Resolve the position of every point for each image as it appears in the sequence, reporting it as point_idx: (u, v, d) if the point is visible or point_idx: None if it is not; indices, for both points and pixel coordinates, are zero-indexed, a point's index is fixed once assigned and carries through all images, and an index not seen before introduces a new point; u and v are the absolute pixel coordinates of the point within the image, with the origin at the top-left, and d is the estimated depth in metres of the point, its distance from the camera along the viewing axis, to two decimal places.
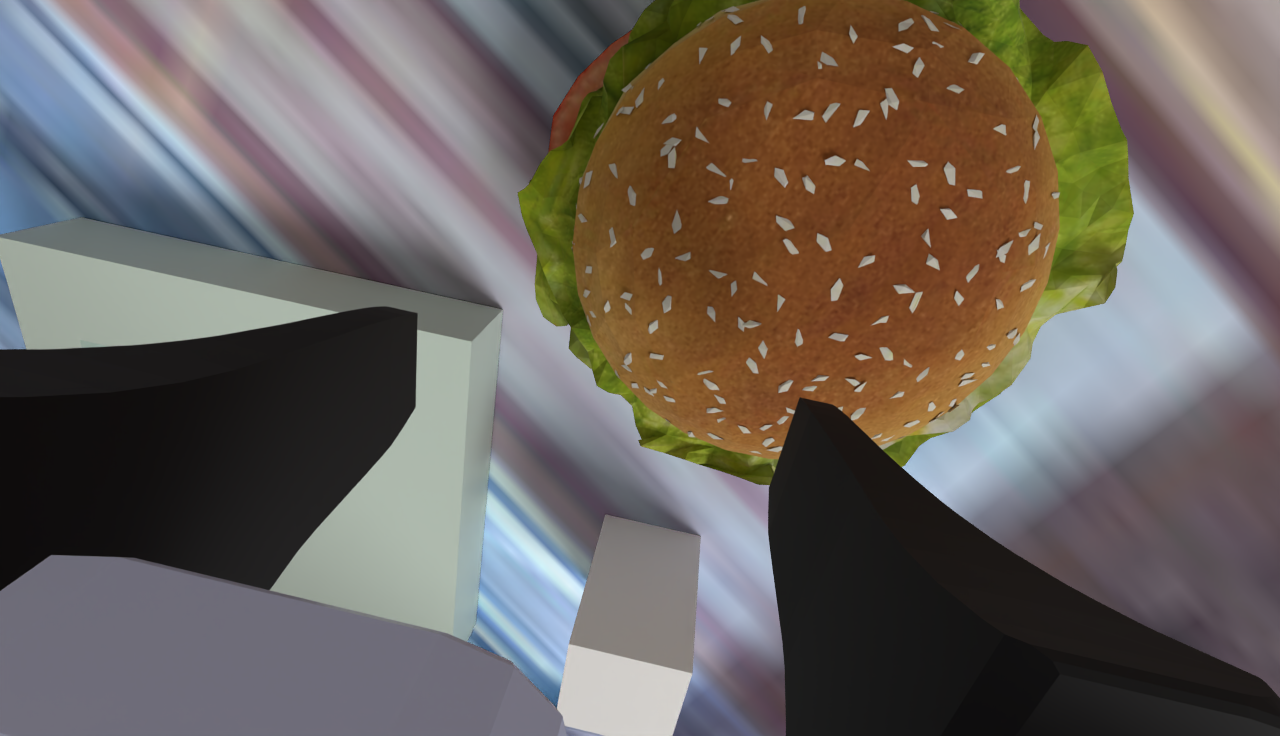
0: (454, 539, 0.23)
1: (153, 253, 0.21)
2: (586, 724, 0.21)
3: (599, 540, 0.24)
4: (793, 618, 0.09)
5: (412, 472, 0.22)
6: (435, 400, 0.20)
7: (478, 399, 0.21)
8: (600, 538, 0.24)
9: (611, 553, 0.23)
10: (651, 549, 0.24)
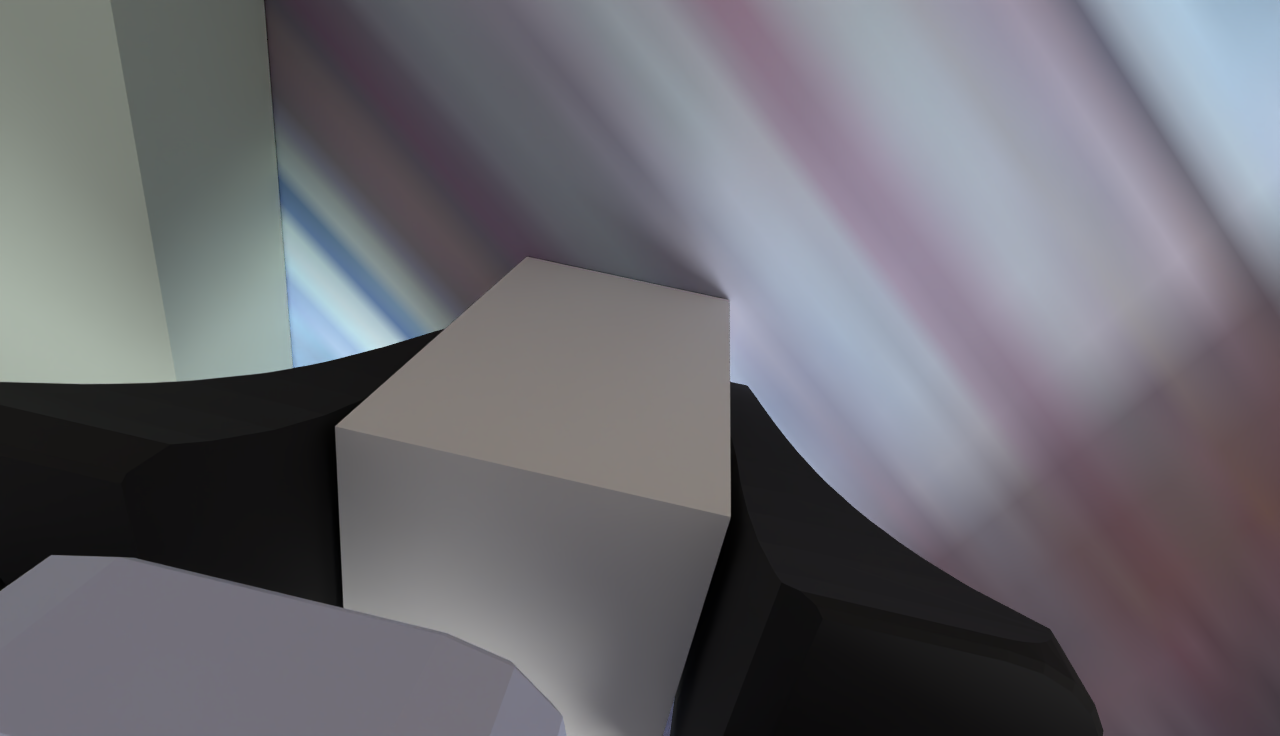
0: (144, 252, 0.10)
1: None
2: None
3: (502, 281, 0.11)
4: None
5: None
6: None
7: None
8: (505, 279, 0.11)
9: (525, 299, 0.10)
10: (621, 303, 0.11)
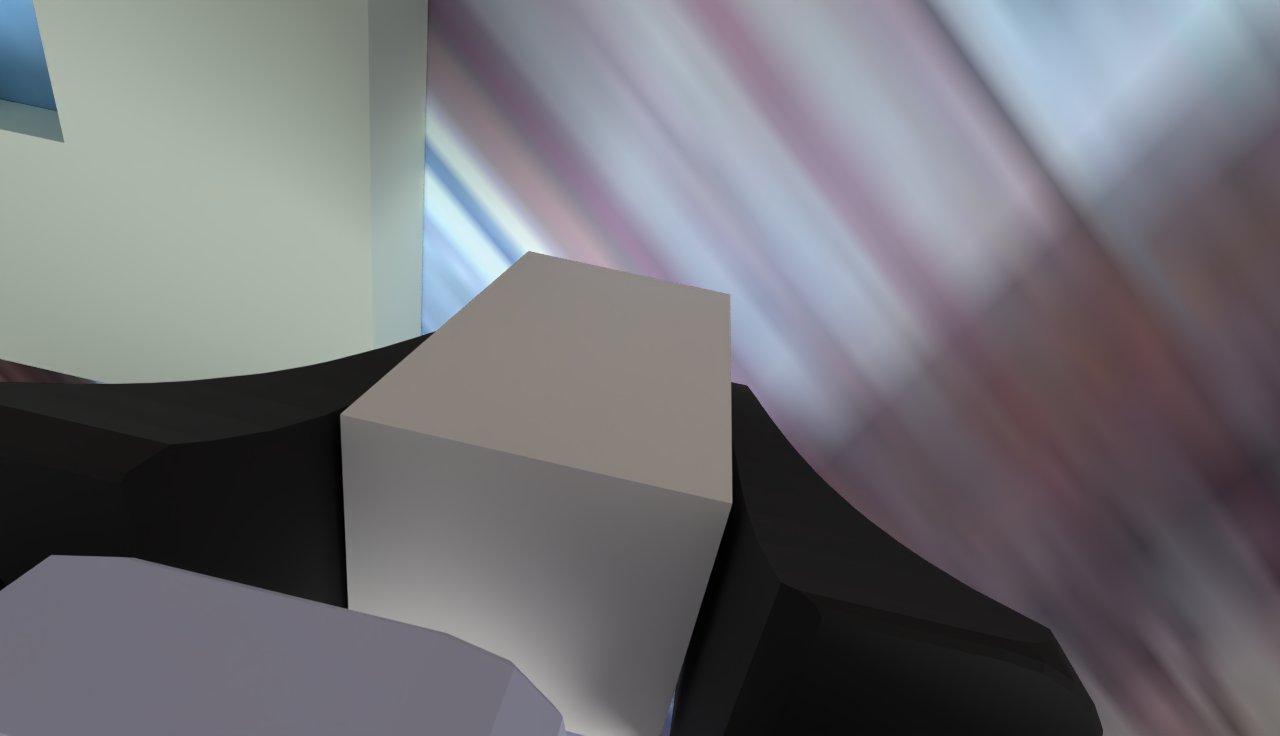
0: (364, 184, 0.15)
1: None
2: None
3: (504, 275, 0.11)
4: None
5: (292, 53, 0.14)
6: None
7: None
8: (507, 273, 0.11)
9: (527, 292, 0.10)
10: (623, 297, 0.11)
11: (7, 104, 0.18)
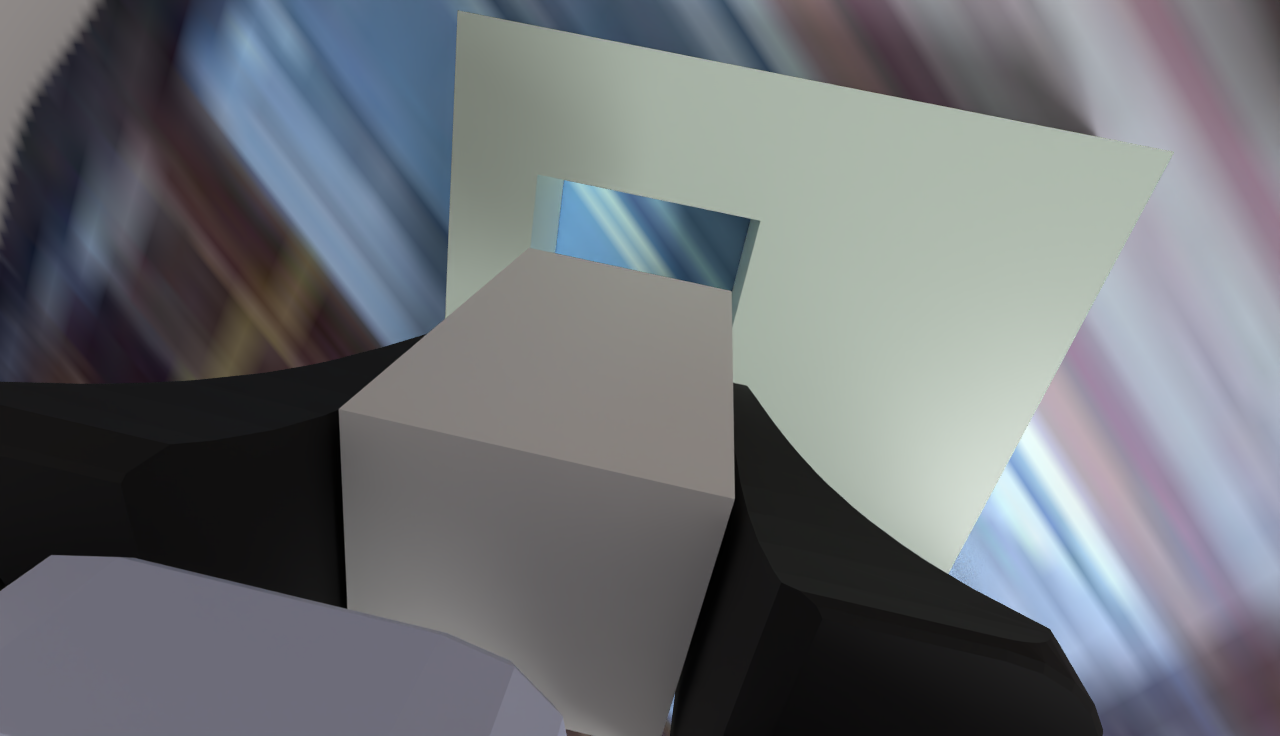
0: (1000, 461, 0.17)
1: None
2: None
3: (504, 271, 0.11)
4: None
5: (980, 363, 0.16)
6: (1069, 250, 0.14)
7: None
8: (507, 269, 0.11)
9: (528, 288, 0.10)
10: (624, 292, 0.11)
11: None
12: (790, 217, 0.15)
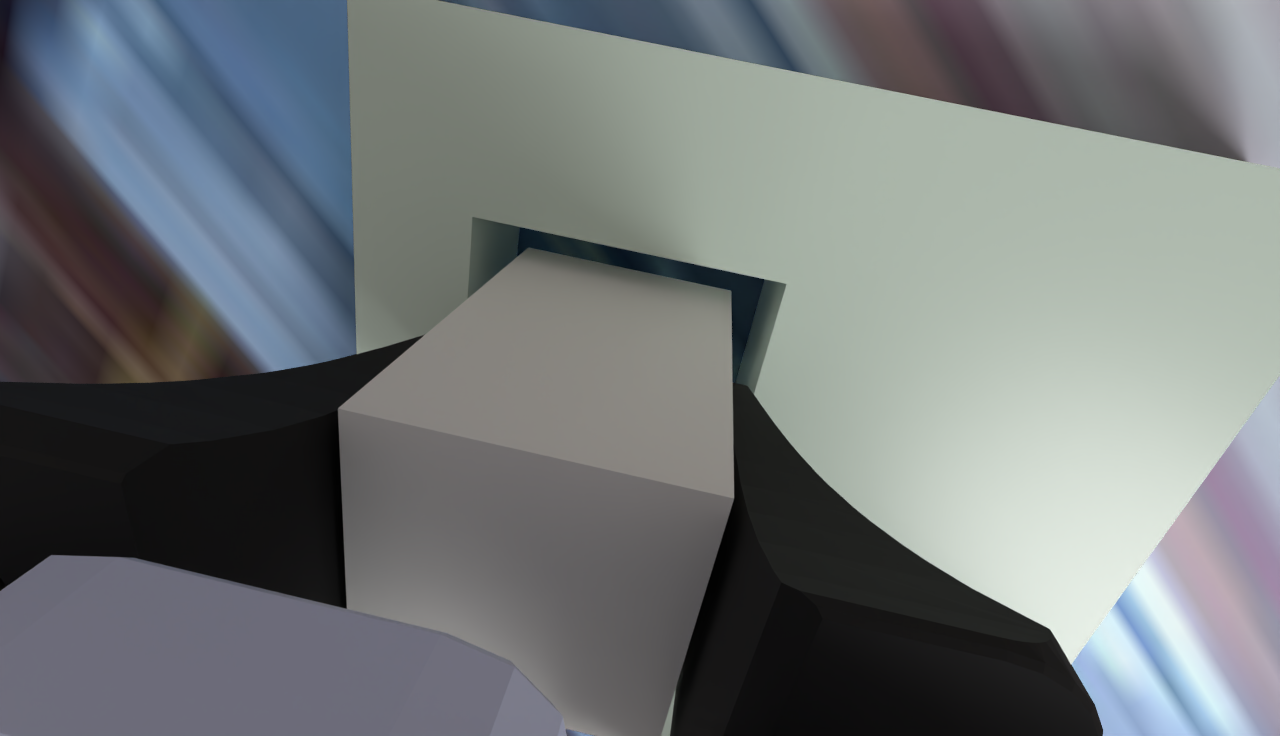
0: (1106, 600, 0.13)
1: None
2: None
3: (504, 271, 0.11)
4: None
5: (1089, 478, 0.11)
6: (1232, 331, 0.10)
7: None
8: (507, 269, 0.11)
9: (527, 288, 0.10)
10: (623, 292, 0.11)
11: None
12: (829, 280, 0.10)
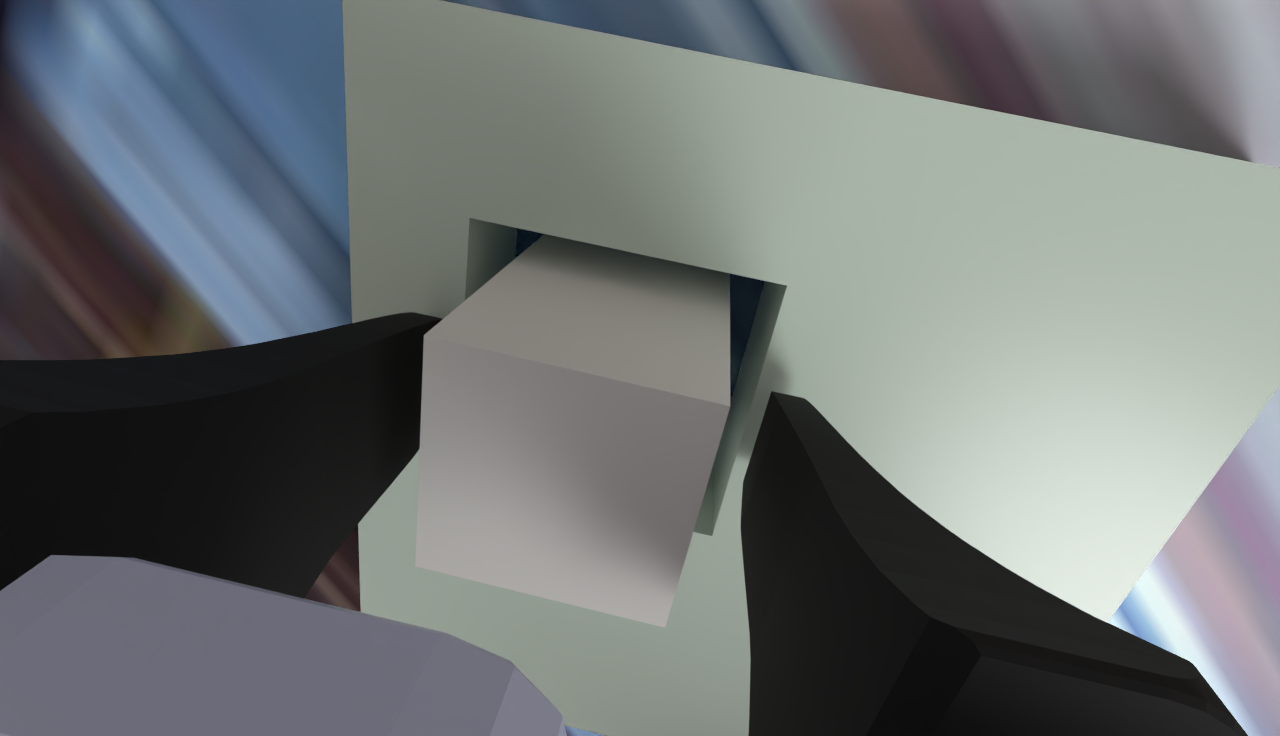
0: (1109, 604, 0.12)
1: None
2: (483, 567, 0.09)
3: (535, 244, 0.12)
4: (759, 610, 0.09)
5: (1092, 481, 0.11)
6: (1237, 333, 0.10)
7: None
8: (538, 242, 0.12)
9: (557, 257, 0.12)
10: (637, 263, 0.12)
11: None
12: (830, 281, 0.10)
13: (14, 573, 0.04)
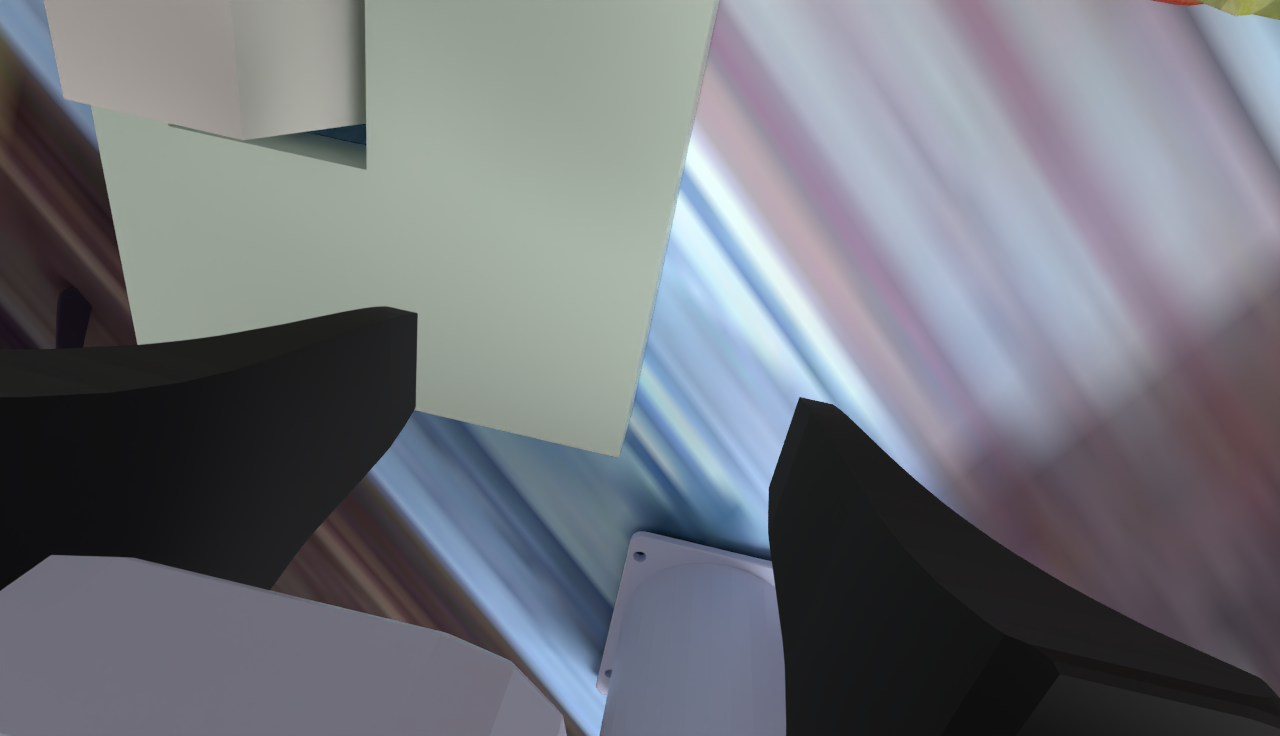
0: (663, 213, 0.16)
1: None
2: (109, 94, 0.13)
3: None
4: (793, 618, 0.09)
5: (618, 90, 0.15)
6: None
7: None
8: None
9: None
10: None
11: None
12: None
13: None
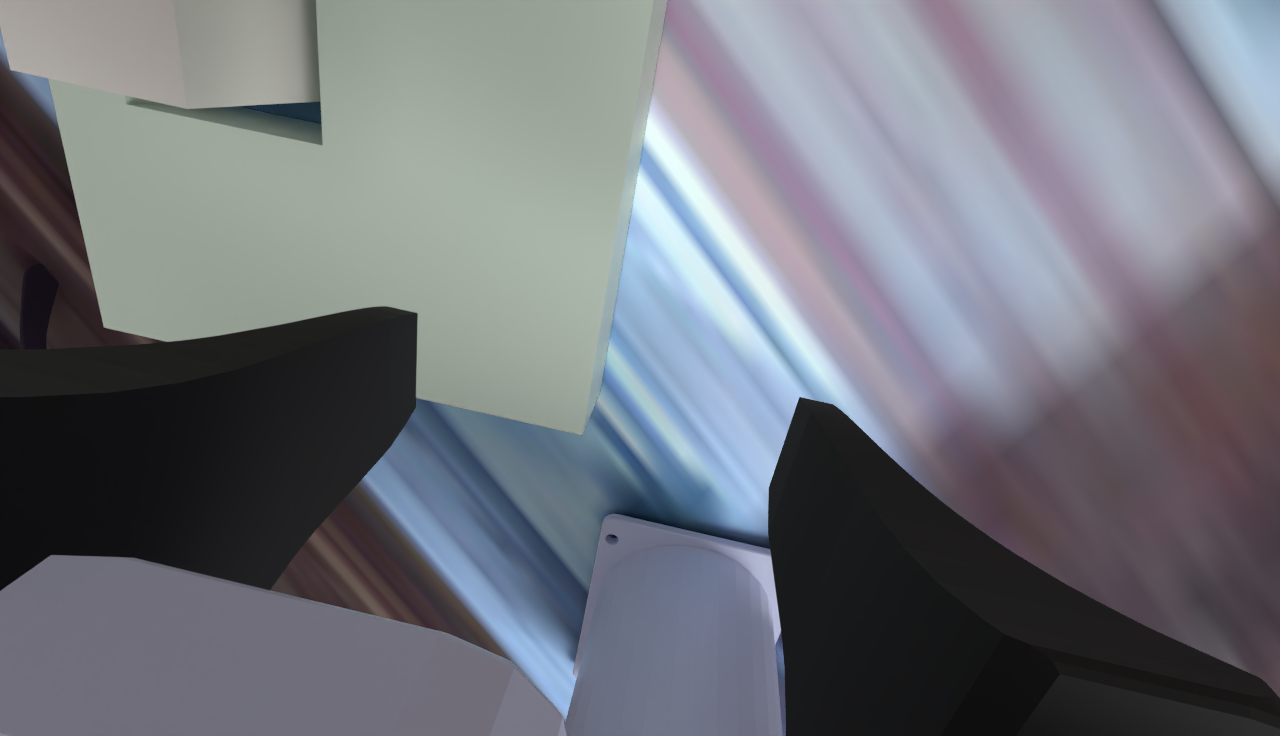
0: (616, 184, 0.16)
1: None
2: (54, 64, 0.13)
3: None
4: (793, 618, 0.09)
5: (567, 61, 0.15)
6: None
7: None
8: None
9: None
10: None
11: (234, 108, 0.19)
12: None
13: None
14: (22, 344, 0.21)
